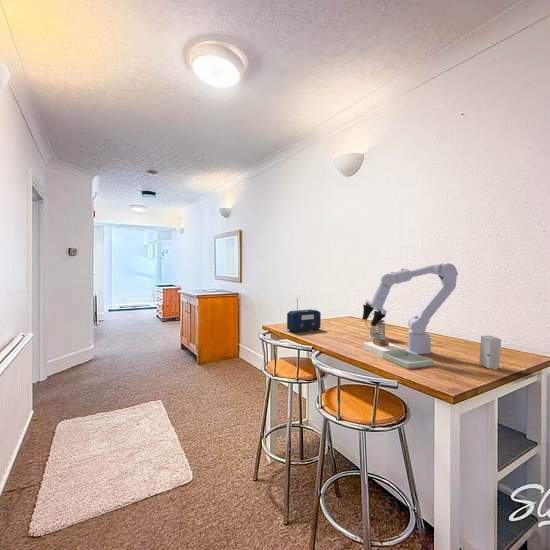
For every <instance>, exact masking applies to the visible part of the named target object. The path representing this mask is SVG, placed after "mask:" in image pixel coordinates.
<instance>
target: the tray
mask: <svg viewBox="0 0 550 550" xmlns="http://www.w3.org/2000/svg"><path fill="white" fill-rule="evenodd" d="M381 358H382V359H383V358H384V359H383V360H385V359H386V361H388V362H390V363H392V364H394V363H395V365H397V366H399V367H402V368H403V367H404V369H405V370H411V369H420V368H427V367H433V366H434V360H433V359H430V358H428V357H425V356H422V355H421V354H414V353H412V352H409V351H399V352H389V353H383V356H382V357H381Z"/></svg>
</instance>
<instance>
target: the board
mask: <svg viewBox="0 0 550 550" xmlns="http://www.w3.org/2000/svg"><path fill="white" fill-rule="evenodd" d="M364 349H365V350H364ZM405 349H406V348H404V347H402V346H399V345H396V344H393V343H390V342H389V346H377V345H375V344H373V341H370V342H363V343H362V350H364V351H366V350H367V352H369V353H371V354H373V353H374V354H373V355H375V354H376V356H378V357H381V358H382V356H383V353H389V352H399V351H405Z"/></svg>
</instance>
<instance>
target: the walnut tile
mask: <svg viewBox="0 0 550 550" xmlns="http://www.w3.org/2000/svg"><path fill="white" fill-rule="evenodd" d="M372 342H373V344H375V345H377V346H389V343H390V340H388V339H384V338H374V339H372Z"/></svg>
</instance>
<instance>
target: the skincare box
mask: <svg viewBox="0 0 550 550" xmlns="http://www.w3.org/2000/svg"><path fill="white" fill-rule="evenodd" d="M479 345H480V346H479V347H480V348H479V363H478V364H479V365H480V366H482V365H483V366H485V367H487V368H499V369H500V364H501V363H500V362H501V361H500V360H501V347H502V339H500V338H498V337H497V336H492V335H480V344H479ZM483 366H482V367H483ZM485 367H484V368H485ZM487 368H486V369H487Z"/></svg>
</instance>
